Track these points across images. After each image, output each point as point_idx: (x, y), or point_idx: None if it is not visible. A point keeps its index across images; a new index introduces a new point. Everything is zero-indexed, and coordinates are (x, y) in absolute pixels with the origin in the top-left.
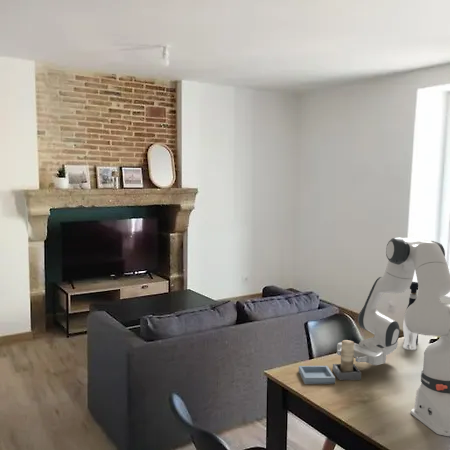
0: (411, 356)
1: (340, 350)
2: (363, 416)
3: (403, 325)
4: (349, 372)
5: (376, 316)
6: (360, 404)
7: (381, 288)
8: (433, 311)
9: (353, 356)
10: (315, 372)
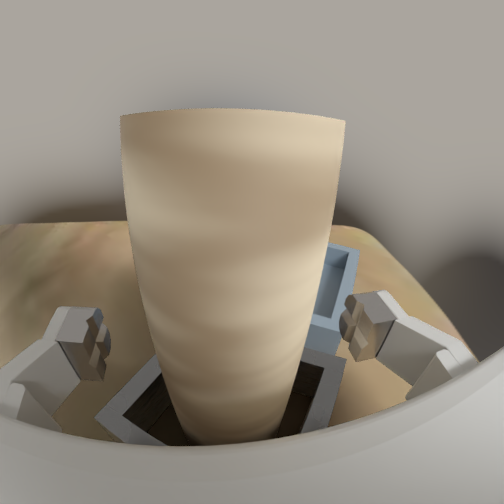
0: None
1: (382, 308)
2: (27, 244)
3: None
4: (156, 357)
5: None
6: (39, 269)
7: None
8: None
9: (151, 332)
10: (319, 297)
